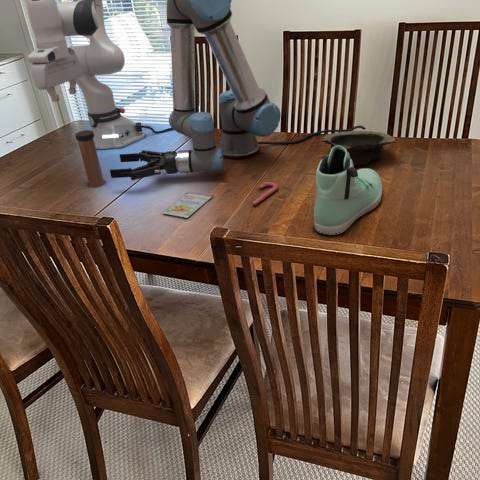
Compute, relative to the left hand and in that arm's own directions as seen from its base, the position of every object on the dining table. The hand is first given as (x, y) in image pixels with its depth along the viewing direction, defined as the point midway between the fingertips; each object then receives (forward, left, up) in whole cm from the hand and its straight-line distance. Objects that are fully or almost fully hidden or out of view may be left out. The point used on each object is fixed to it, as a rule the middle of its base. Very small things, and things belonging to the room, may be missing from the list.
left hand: (64, 97), depth 154 cm
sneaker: (-38, +84, -30) cm, 96 cm away
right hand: (-6, +11, -23) cm, 26 cm away
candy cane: (-29, +58, -30) cm, 71 cm away
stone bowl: (-72, +64, -30) cm, 101 cm away
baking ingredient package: (-10, +44, -30) cm, 54 cm away
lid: (-1, +5, -12) cm, 13 cm away
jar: (-1, +5, -30) cm, 30 cm away
